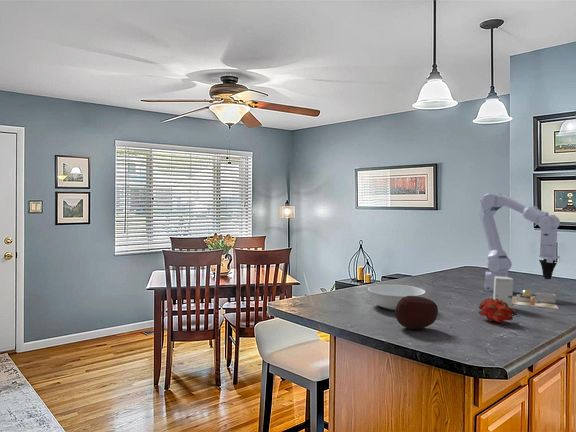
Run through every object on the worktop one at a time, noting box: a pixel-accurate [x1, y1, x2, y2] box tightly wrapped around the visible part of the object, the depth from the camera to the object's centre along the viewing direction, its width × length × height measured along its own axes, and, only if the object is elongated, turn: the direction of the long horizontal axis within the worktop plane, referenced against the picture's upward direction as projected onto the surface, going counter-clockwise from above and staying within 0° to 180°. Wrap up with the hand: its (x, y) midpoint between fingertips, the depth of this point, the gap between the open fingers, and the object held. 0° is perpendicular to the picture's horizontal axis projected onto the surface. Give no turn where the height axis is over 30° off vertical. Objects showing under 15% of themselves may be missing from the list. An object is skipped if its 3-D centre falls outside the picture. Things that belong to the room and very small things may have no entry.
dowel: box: [531, 297, 535, 305], centre depth 170 cm, size 1×1×3 cm
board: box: [512, 295, 559, 310], centre depth 176 cm, size 17×16×1 cm
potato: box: [394, 296, 439, 330], centre depth 138 cm, size 11×13×10 cm
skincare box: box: [492, 276, 514, 309], centre depth 165 cm, size 6×4×12 cm
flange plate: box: [516, 292, 557, 304], centre depth 177 cm, size 14×7×3 cm, turn 65°
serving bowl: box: [367, 283, 427, 311], centre depth 166 cm, size 21×21×7 cm
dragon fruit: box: [478, 297, 518, 325], centre depth 148 cm, size 8×8×12 cm
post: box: [521, 289, 532, 298], centre depth 178 cm, size 3×3×4 cm
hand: (547, 278), depth 181 cm, fingers open, 4 cm apart
